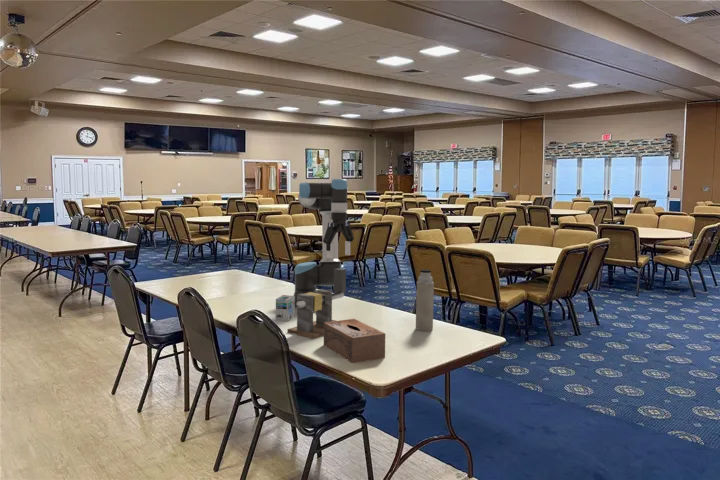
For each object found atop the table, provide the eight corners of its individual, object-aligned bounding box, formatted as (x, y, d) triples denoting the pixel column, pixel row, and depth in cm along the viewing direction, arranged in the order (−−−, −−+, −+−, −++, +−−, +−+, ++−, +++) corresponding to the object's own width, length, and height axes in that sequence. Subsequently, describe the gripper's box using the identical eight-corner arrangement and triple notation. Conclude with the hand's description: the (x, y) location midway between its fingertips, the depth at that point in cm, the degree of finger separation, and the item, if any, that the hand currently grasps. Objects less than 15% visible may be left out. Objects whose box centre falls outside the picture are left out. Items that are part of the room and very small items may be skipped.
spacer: (310, 307, 256) (310, 292, 255) (321, 309, 251) (322, 294, 251) (303, 309, 252) (303, 293, 251) (314, 311, 247) (314, 295, 247)
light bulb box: (288, 321, 271) (288, 299, 270) (275, 320, 272) (275, 298, 271) (295, 316, 281) (295, 295, 280) (282, 315, 283) (282, 294, 281)
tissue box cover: (323, 345, 233) (323, 322, 231) (353, 341, 239) (354, 318, 238) (352, 363, 210) (352, 338, 209) (384, 358, 217) (385, 333, 216)
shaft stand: (324, 321, 272) (325, 285, 270) (350, 326, 262) (350, 289, 260) (287, 332, 251) (287, 293, 249) (313, 338, 241) (314, 298, 240)
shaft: (337, 296, 269) (337, 268, 268) (345, 298, 266) (345, 269, 265) (294, 307, 246) (294, 276, 244) (303, 309, 243) (303, 277, 241)
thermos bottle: (417, 326, 265) (419, 268, 262) (434, 327, 262) (435, 269, 259) (413, 330, 258) (415, 270, 255) (430, 331, 255) (432, 271, 252)
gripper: (349, 210, 274) (348, 253, 277) (315, 212, 255) (315, 258, 257) (361, 211, 270) (360, 254, 272) (327, 213, 250) (327, 259, 252)
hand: (338, 256), depth 264 cm, fingers open, 13 cm apart
